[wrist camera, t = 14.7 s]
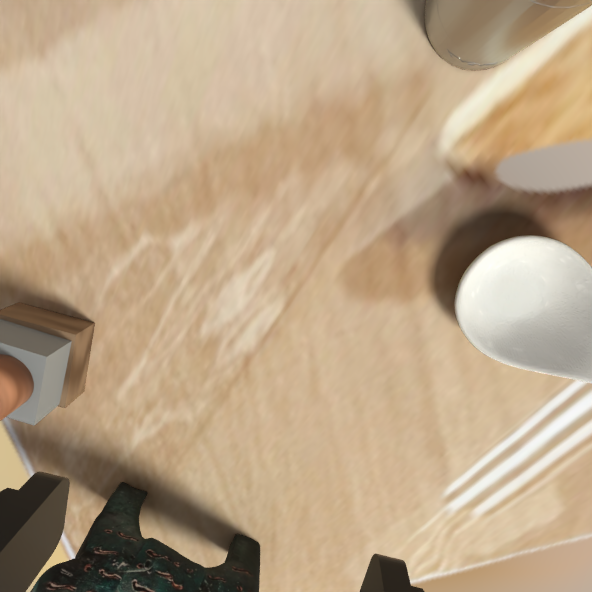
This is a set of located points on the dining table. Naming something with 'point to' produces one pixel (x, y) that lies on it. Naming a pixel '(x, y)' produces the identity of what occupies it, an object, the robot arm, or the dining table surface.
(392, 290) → the dining table surface
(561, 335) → the spoon rest
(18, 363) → the tan cylinder
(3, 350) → the tower top
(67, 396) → the tower base
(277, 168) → the dining table surface
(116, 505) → the ceramic cat
